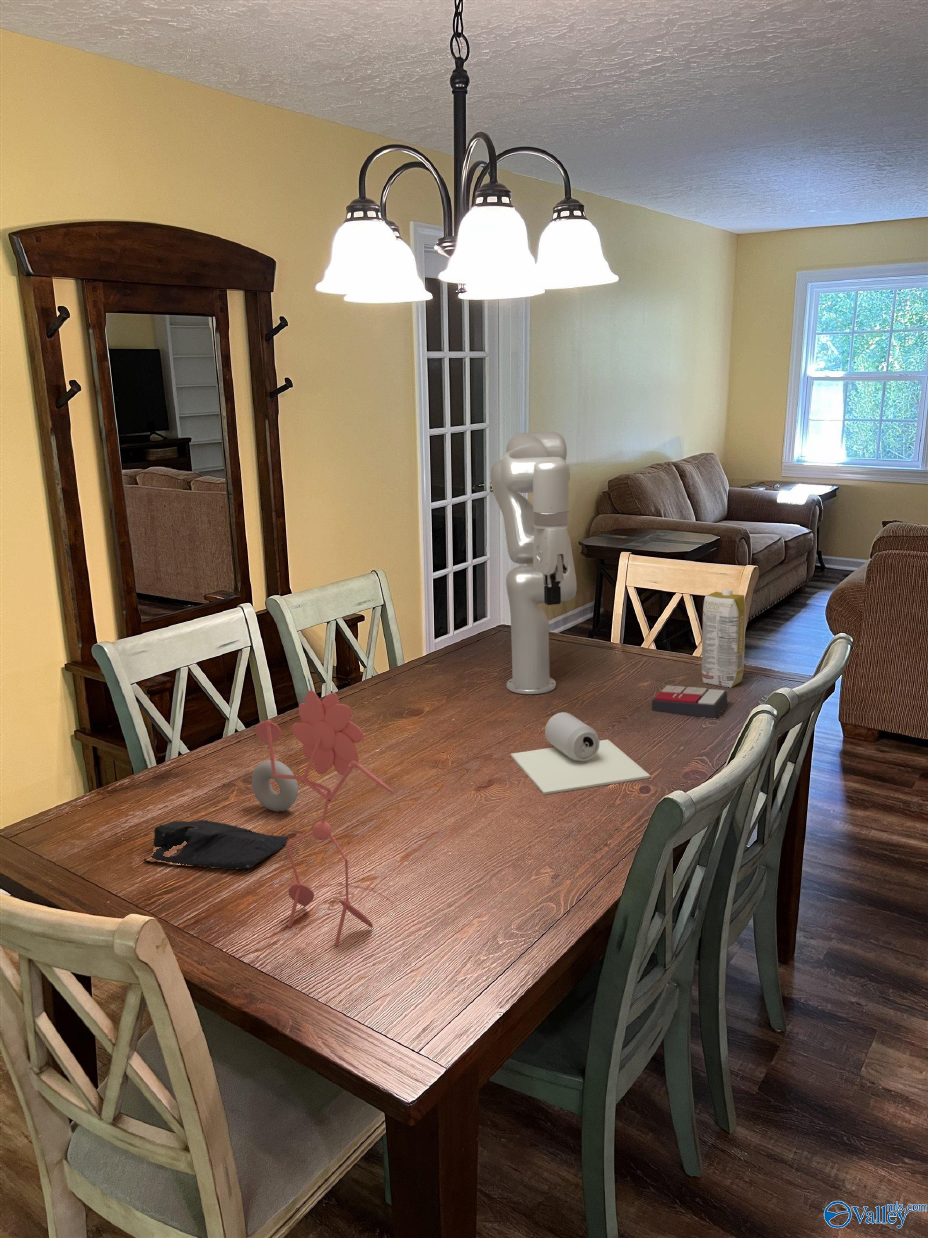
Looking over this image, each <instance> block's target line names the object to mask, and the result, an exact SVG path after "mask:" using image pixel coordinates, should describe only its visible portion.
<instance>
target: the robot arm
mask: <svg viewBox="0 0 928 1238" xmlns="http://www.w3.org/2000/svg"><path fill="white" fill-rule="evenodd" d="M505 449H506V450H505V451H506V453H505V454H504V455H503V457H502V459H500V460H497V461H496V462H494V463H493V465H492V466H491V468H490V483H491V488H492V492H493V496H494V498H495V500H496V502H497V505H498V507H499V509H500V511H501V514H502V517H503V523H504V524H503V525H504V530H505V531H504V532H505V541H506V548H507V553H508V556H509V558H510V560H511V561H512V562H513V563H514V564H518V565H520V566H516V567H514V568H512V569H510V570H509V571H508V573H507V575H506V577H505V578H506V579H505V586H506V591H507V597H508V604H509V612H510V629H511V631H510V633H511V634H510V636H511V638H510V639H511V640H510V641H511V663H512V664H511V665H512V666H511V667H512V668H511V671H512V677H511V678H510V679H509V680H508V681H507V682H506V688H507V689H508V690H509V691H511V692H512V693H517V694H521V695H522V694H523V695H538V694H546V693H549V692H551V691H553V690H554V689H555V688H556V686H557V684H556V683H557V682H556V680H555V679H553V678H552V677H551V675H550V673H551V672H550V630H549V628H550V626H549V625H550V624H549V619H548V617H547V615H546V613H545V612H544V611H543V610H542V609H541V608H540V606H539V605H540V604H545V605H547V606H552V605H560V604H561V603H562V602H568V601H571V600H572V599H574V598H575V597H576V594H577V589H578V588H577V576H576V568H575V562H574V556H573V549H572V544H571V538H570V535H569V532H568V529H567V528H568V527H570V499H569V497H570V495H569V493H570V492H569V491H570V490H569V489H570V487H569V485H570V484H569V483H570V479H571V478H570V475H571V473H570V471H571V469H570V466H569V464H568V463H567V454H568V452H567V451H568V450H567V449H568V448H567V444H566V441H565V438H564V437H563V435H562V434H561V433H559V432H557V431H542V432H541V431H539V432H523V433H518V434H516V435H513V436H512V437H511V438H510V439H509V441H508V443H507V444H506V448H505ZM530 493H532V503H531V502H530V500H528V499H527V498H526V497H525V496H524V495H522V494H530Z"/></svg>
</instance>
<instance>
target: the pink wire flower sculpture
mask: <svg viewBox="0 0 928 1238" xmlns="http://www.w3.org/2000/svg"><path fill="white" fill-rule="evenodd" d="M298 713H299V718H300V719H301V722H300V721H299V722H295V723H292V725H291V728H290V730H291V733H292V735H293V736H294V737H295V739H296V740H297V741H298V742H299V743H301V744H302V749H301V750H302V755H303V756H304V757H305V758H308V759H309V761H308V763H307V765H306V767H305V770H304V772H303V775H295V774H294V775H284V774H275V773H276V771H275V762H274V760H275V755H274V754H275V753H274V747H273V743H274V742H277V741H278V740H280V737H281V735H282V729H281V728H280V727H279V725H278V724H277V723H275V722H272V720H271V719H266V720H262V721H260V722H259V723H258V724H256V725H255V729H254V733H255V735H256V737H257V738H259V739H260V741H262V742H263V743H264V744H265V745H268V748H269V760H271V768H272V774H274V775H273V777H274V778H285V779H296V780H299V782H300V783H301V784H305V785H307V786H308V787H309V788H310V789H312V790H313V791H314V792H316V793H317V794H318V795H319V796H321V797H322V798H324V799H325V803H324V809H323V813H322V814H323V815H322V820H320V821H317V822H316V823H314V825H313V827H312V832H309V833H306V834H305V835H304V836H301V837H299V838H297V839H295V840H294V841H292V842H290V843H286V851H287V853H288V857H289V860H290V863H291V866H292V869H293V872H294V876H295V877H294V878H295V880H296V883H293V884H291V885H290V887H289V888H288V892H287V893H288V896H289V897H290V898H291V900H292V901H293V903H292V907H291V911H290V915H289V920H288V924H287V927H288V928H292V926H293V923H294V919H295V914H296V909H297V905H298V904H299V905H300V906H302V907H307V906H308V905H310V904H311V903H312V902H313V901H314V898H315V893H314V891H313V889H312V888H318V887H329V886H331V884H326V885H325V884H323V885H320V884H319V885H315V886H309V885H306V884H304V883H302V882H301V881H300V878H299V874H298V872H297V868H296V865H295V861H294V858H293V855H292V850H291V847H290V846H292V845H294V844H297V843H298V842H300V841H302V840H305V839H306V838H309V837H310V836H313V837H314V839H316V840H318V841H325V840H327V839H328V838H330V839H331V841H332V842H333V844H334V845H335V847H336V848H337V850H338V852H339V853H340V855H341V857H342V859H343V860H344V867H345V871H344V872H345V873H344V874H345V884H343V882H337V885H341V886H345V900H344V899H341V898H340V899H339V901H338V902H339V904H340V905H341V906H342V911H341V915H340V919H339V924H338V928H337V932H336V936H335V941H334V946H336V947H337V946H339V944H340V938H341V935H342V931H343V925H344V922H345V918H346V913H347V911H348V912H349V913H350V914H351V915H353V916H354V917H355V918H356V919H358V920H359V921H361V922H362V923H364V924H366V926H368V927H369V928H371V929H372V928H374V925H373V923H372V922H371V921H370V919H369V918H368V917H367V916H366V915H365V914H363V912H361V910H359V909H357V908H356V907H355V906H353V905H352V904H351V901H349V887H355V888H361V889H365V890H369V891H372V892H374V893H376V894H378V895H380V896H382V897H384V898H386V899H388V901H389V902H391V903H392V904H394V902H393V901H392V900H391V899H389V897H387V896H385V895H384V894H382V893H381V892H378V891H376V890H375V888H373V887H370V886H367V885H365V887H363V886H357V885H351V884H349V863H348V858H347V857H346V855H345V854H344V852H343V850H342V849H341V847H340V846H339V844H338V842H337V840H336V839H335V837H334V836H333V834H332V826H331V825H330V824H329V823H328V822H327V821H326V817H327V813H328V808H329V804H330V803H331V802H332V800H334V799H333V798H335V796H336V794H338V791H339V790H340V789H341V787H342V786H343V784H344V783H345V781H346V780H347V778H348V777H349V775H351V772H352V771H353V770H354V768H357V769H358V770H359V771H361V772H362V773H363V774H365V775H366V776H367V777H368V778H369V779H371V780H372V781H374V783H376V784H377V785H379V786H380V787H382V788H383V789H385V791H387V792H389V793H391V794H393V795H394V794H395V791H394V790H393V789H392V788H391V787H390V786H388V785H387V784H386V783H385V782H383V781H382V780H381V779H380V778H378V777H377V776H376V775H375V774H373V773H372V772H371V771H369V770H368V769H366V768H365V767H364V766H363V765H361V764H360V763H359V760H360V756H359V751H358V749H357V747H356V745H355V744H357V743H361V742H362V741H364V736H365V735H364V733H363V731H362V730H361V728H360V727H359V725H357V724H355V723H354V722H353V721H351V719H352V717H353V710H352V708H351V707H350V706H349V705H347V704H345V703H344V704H343V703H340V699H339V696H338V695H337V693H336V692H330V693H328V694H327V695H325V697H324V698H323V699H322V701H321V700H320V698H319V696H318V694H317V693H316V692H315V691H314V690H308V692H307V693H306V696H305V699H304V702H301V703H300V704H299V705H298ZM312 765H313V766H314V771H315V772H316V774H318V775H321V776H322V775H324V774H326V773H328V771H329V770H330V769H331V768H334V770H335V771H336V773H338V774H339V775H340V776H341V778H340V780H339V781H338V783H337V784H336V786H335V787H334V789H333V791H332V790H331V788H330V787H328V786H326V785H323V784H320V783H317V782H315V781H311V780H309V779H308V778H309V777H308V776H309V773H310V771H311V768H312ZM332 766H333V767H332ZM322 790H324V791H326V793H324V792H323V791H322ZM367 887H368V888H367ZM372 956H374V953H372V954H370V955H369V956H366V957H364V958H362V961H364V960H366V959H368V958H370V957H372Z"/></svg>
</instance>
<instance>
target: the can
mask: <svg viewBox="0 0 928 1238" xmlns="http://www.w3.org/2000/svg"><path fill="white" fill-rule="evenodd" d="M544 732H545V733H544V734H545V739H546V740H547V742H548V743H550V745H552V746H553V747H556V748H557V749H559V750H560V751H562V752H563V753H564V754H566V755H567V756H568V757H570V758H571V759H573V760H575V761H587V760H590V759H591V758H593V757H594V756H595V755H596V753H597V752H598V750H599V746H600V741H601V740H600V739H599V734H598V733H597V731H596V730H595V729H594V728H592V727H591V726H589V725H587V724H586V723H585V722H583V721H581V720H580V719H579V718H577V717H575V716H573V715H572V714H570V713H569V712H565V711H564V712H563V711H561V712H557V713H556V714H554V715H553V716H551V718H549V719H548V721H547V723H546V725H545V729H544Z"/></svg>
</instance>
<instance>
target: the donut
mask: <svg viewBox="0 0 928 1238" xmlns="http://www.w3.org/2000/svg"><path fill="white" fill-rule="evenodd" d="M274 762H275V771H276V773H275V774H284V775H294V776H295V774H294V773H293V771H292V770H291V769H290V767H289V766H287V765H286V764H285V763H284V762H282V761H279V760H277V759H274ZM273 775H274V774H272V768H271V759H267V760H265V761H262V762H259V764H258V765H257V766H255V768H254V770H253V772H252V775H251V786H252V792H253V795H254V796H255V798H256V799H257V801H258V802H259V803H260V805H262V806H263V807H264V808H265V809H267V810H269V809H270V811H272V810H273V811H272V812H279V811H282V812H284V811H287V810H289V809H290V808H291V807H293V806H294V804H295V803H296V801H297V799H298V796H299V784H298V781H297V779H285V778H274V777H273ZM271 779H273V780H274V781H275V782H276V783H277V785H278V787H279V793H278V792H276V791H275V790H274V789H273V788H272V786H271V783H270V781H271Z"/></svg>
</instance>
